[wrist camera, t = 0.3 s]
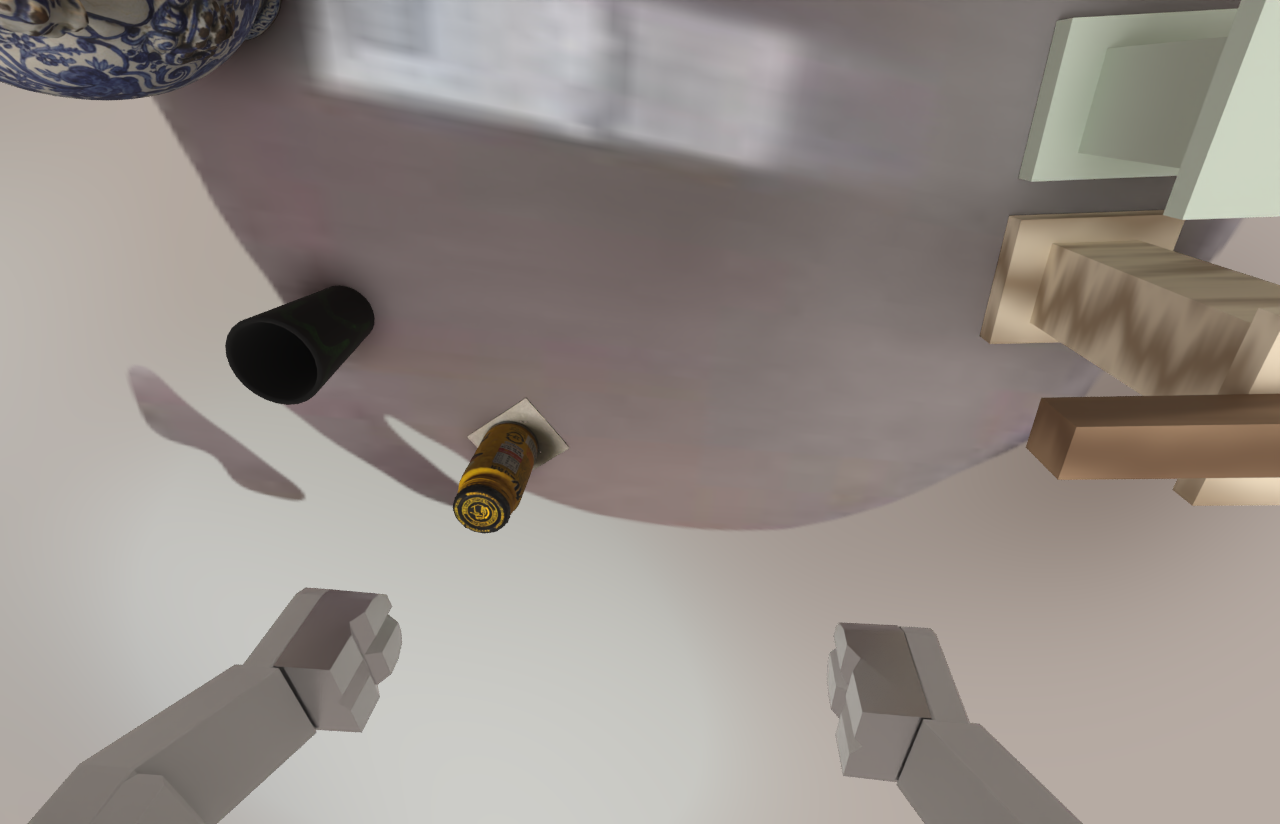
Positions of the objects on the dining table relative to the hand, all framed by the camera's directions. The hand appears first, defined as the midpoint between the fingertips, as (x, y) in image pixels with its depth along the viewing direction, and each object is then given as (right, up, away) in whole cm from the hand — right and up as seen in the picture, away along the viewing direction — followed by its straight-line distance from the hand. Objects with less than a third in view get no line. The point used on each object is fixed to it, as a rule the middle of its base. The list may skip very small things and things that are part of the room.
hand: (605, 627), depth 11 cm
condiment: (-13, +1, +54) cm, 55 cm away
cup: (-28, +14, +47) cm, 57 cm away
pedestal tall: (+39, +16, +42) cm, 60 cm away
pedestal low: (+38, +28, +35) cm, 59 cm away
